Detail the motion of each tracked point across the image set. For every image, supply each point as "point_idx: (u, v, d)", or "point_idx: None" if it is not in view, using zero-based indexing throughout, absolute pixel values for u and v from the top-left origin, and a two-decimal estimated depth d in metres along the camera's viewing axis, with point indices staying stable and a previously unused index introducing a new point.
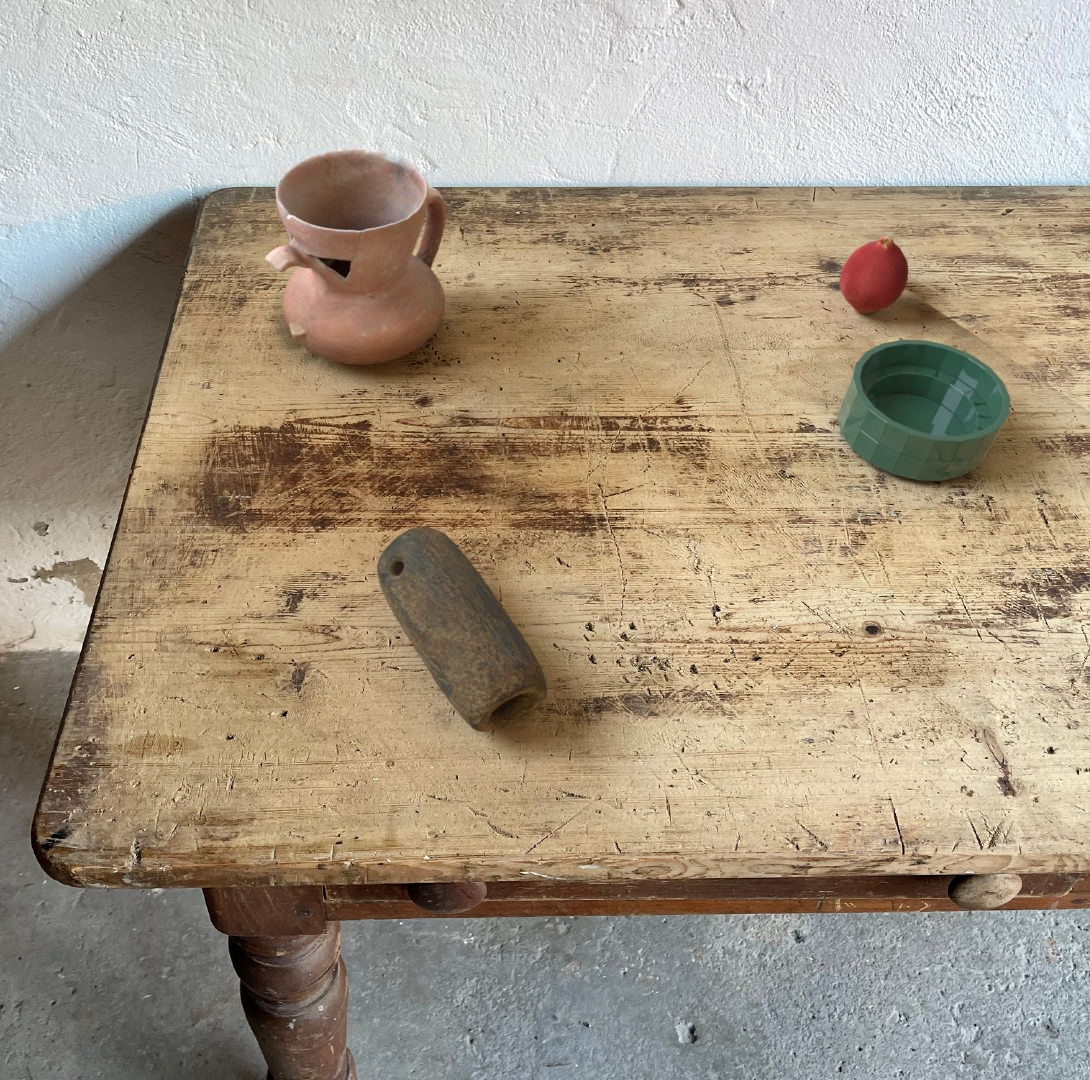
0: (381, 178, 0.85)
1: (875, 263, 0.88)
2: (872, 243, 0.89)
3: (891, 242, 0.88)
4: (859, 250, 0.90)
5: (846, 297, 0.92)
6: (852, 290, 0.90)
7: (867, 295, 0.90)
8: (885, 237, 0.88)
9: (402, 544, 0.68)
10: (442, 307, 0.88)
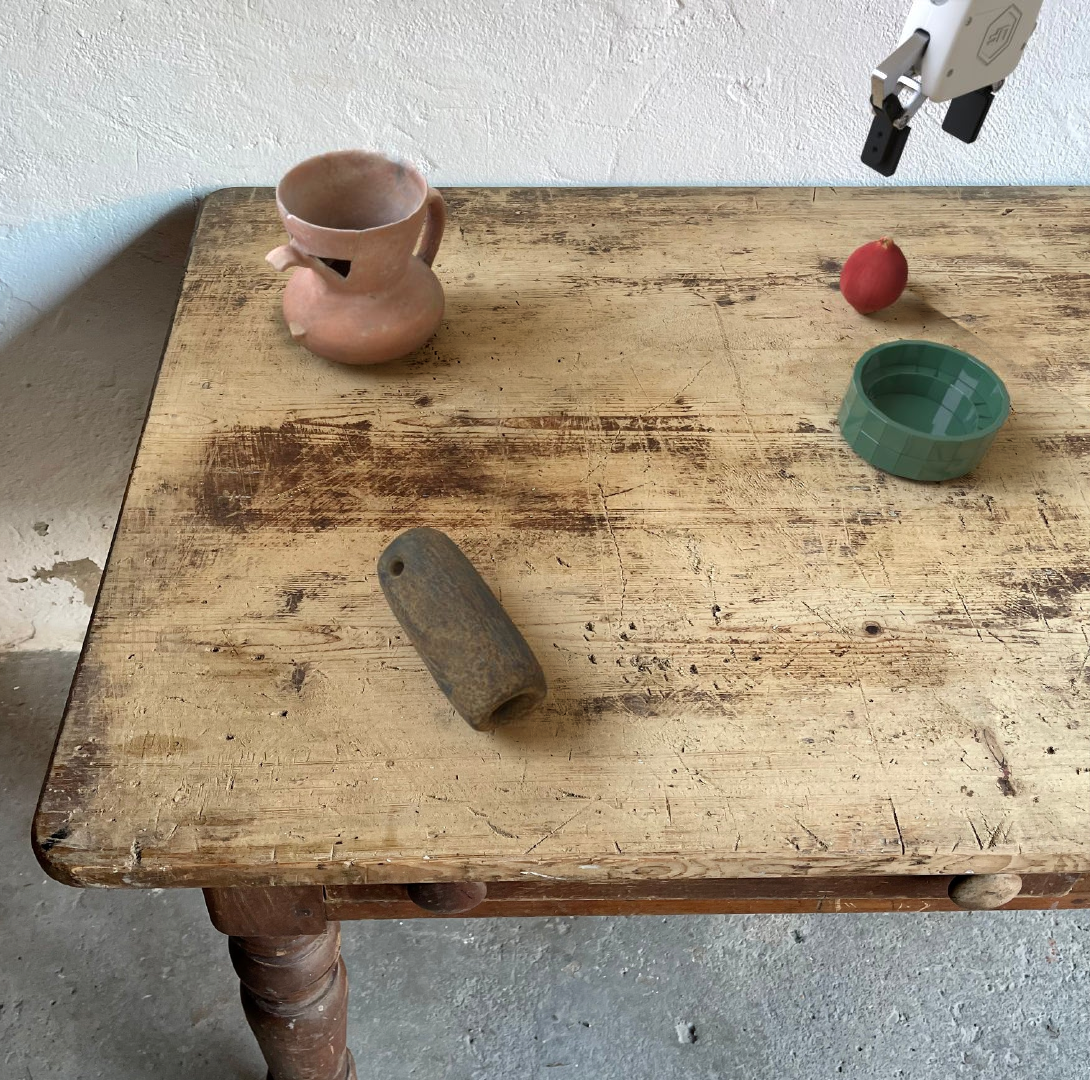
0: (381, 178, 0.85)
1: (875, 263, 0.88)
2: (872, 243, 0.89)
3: (891, 242, 0.88)
4: (859, 250, 0.90)
5: (846, 297, 0.92)
6: (852, 290, 0.90)
7: (867, 295, 0.90)
8: (885, 237, 0.88)
9: (402, 544, 0.68)
10: (442, 307, 0.88)
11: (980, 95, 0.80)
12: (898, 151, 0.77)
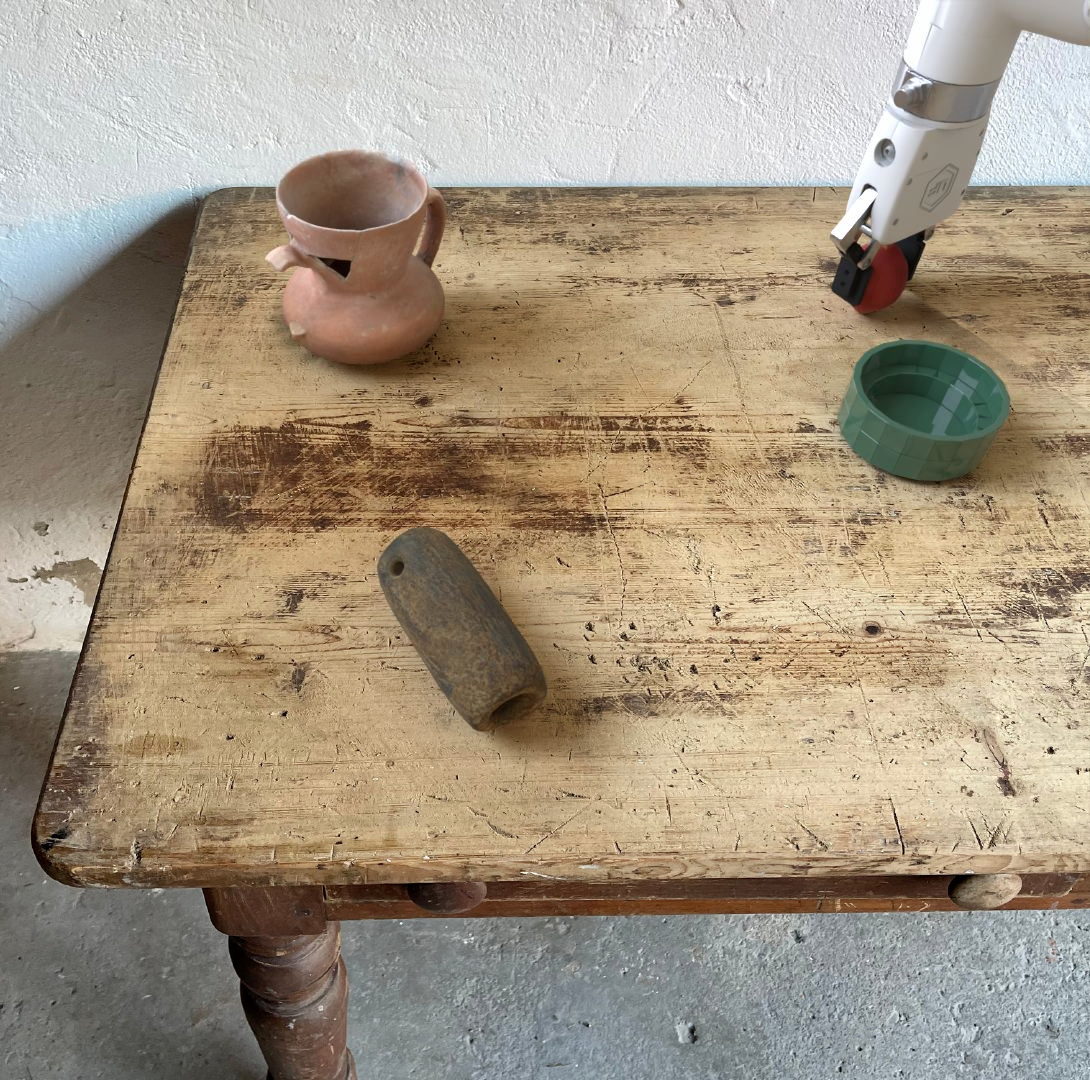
0: (381, 178, 0.85)
1: (875, 263, 0.88)
2: None
3: None
4: None
5: None
6: None
7: (867, 295, 0.90)
8: None
9: (402, 544, 0.68)
10: (442, 307, 0.88)
11: (913, 243, 0.90)
12: (863, 286, 0.88)
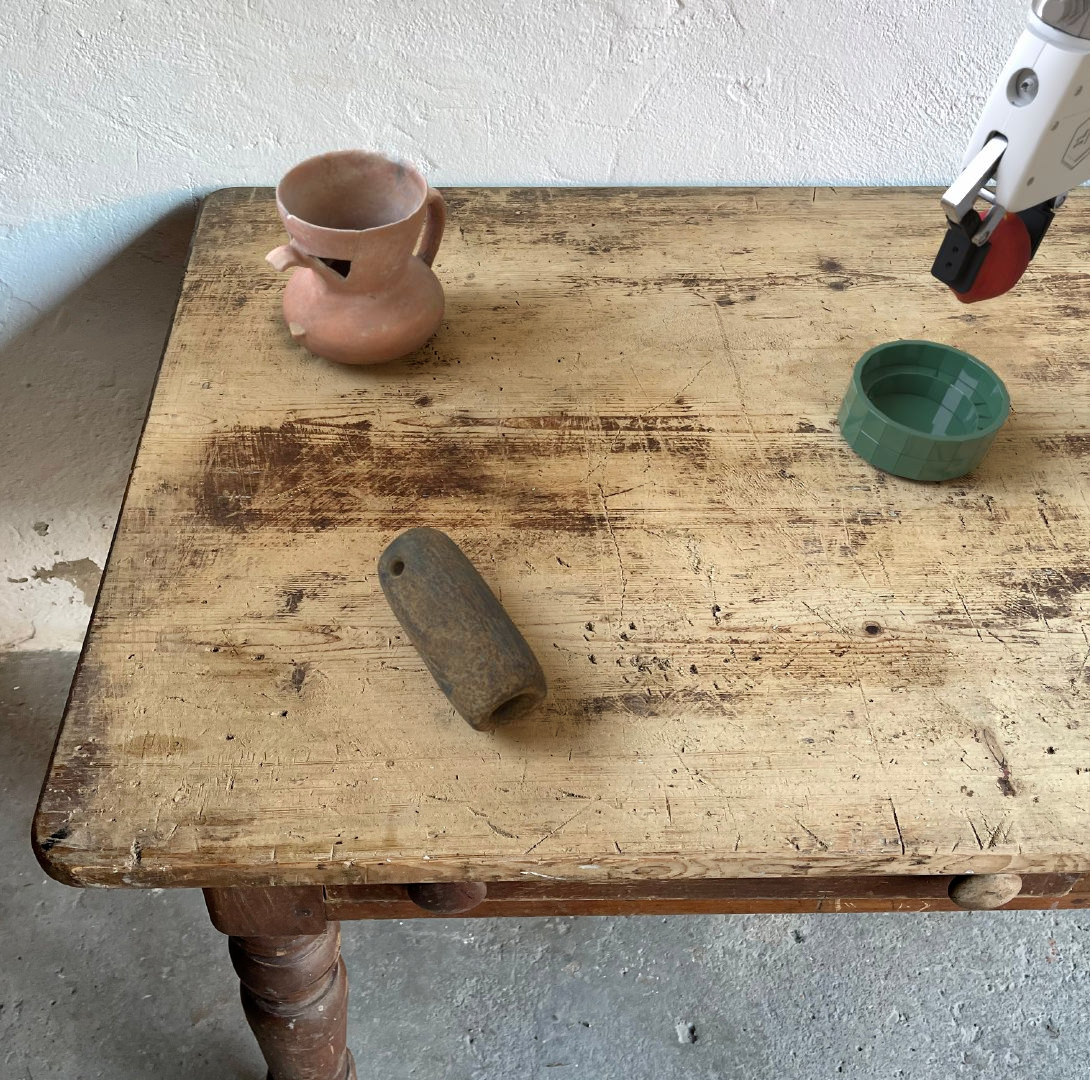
0: (381, 178, 0.85)
1: (991, 238, 0.69)
2: (986, 213, 0.70)
3: None
4: None
5: None
6: None
7: (979, 280, 0.70)
8: None
9: (402, 544, 0.68)
10: (442, 307, 0.88)
11: (1038, 213, 0.70)
12: (976, 268, 0.69)
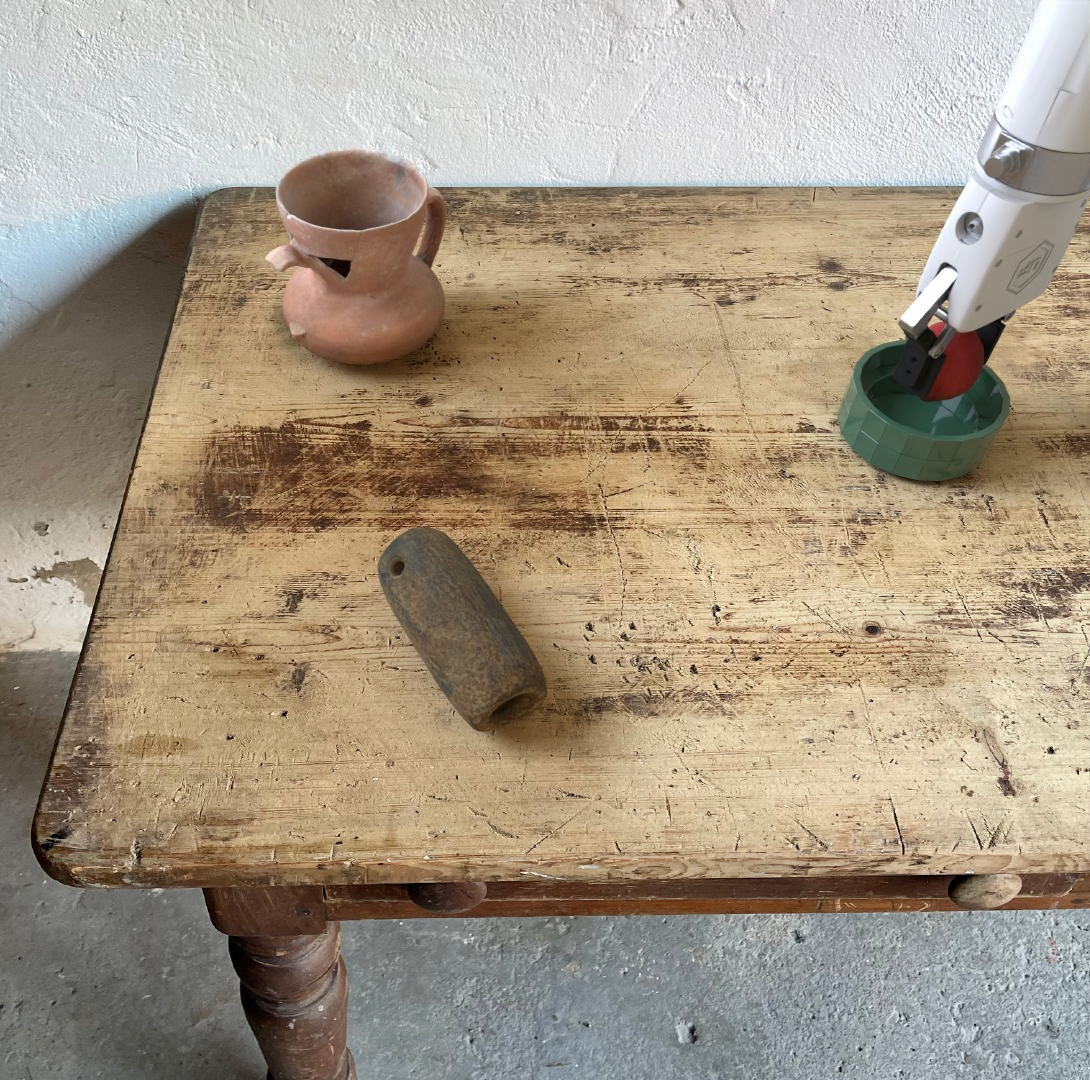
0: (381, 178, 0.85)
1: (946, 348, 0.75)
2: (942, 324, 0.76)
3: None
4: None
5: None
6: None
7: (936, 385, 0.77)
8: None
9: (403, 544, 0.68)
10: (442, 307, 0.88)
11: (990, 324, 0.76)
12: (933, 376, 0.75)
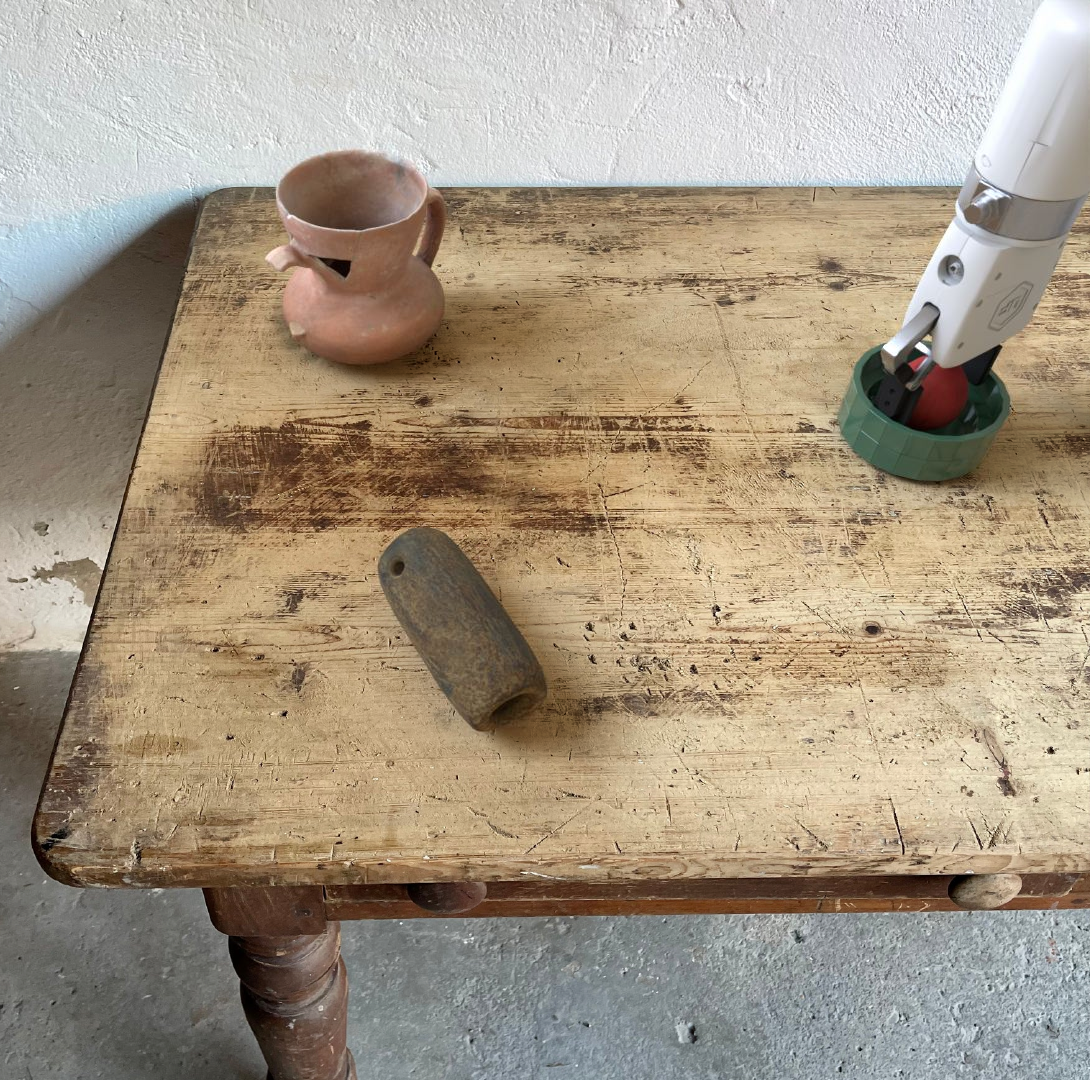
0: (381, 178, 0.85)
1: (932, 382, 0.78)
2: None
3: None
4: (913, 365, 0.79)
5: None
6: None
7: (922, 417, 0.79)
8: None
9: (403, 544, 0.68)
10: (442, 307, 0.88)
11: None
12: (911, 408, 0.77)
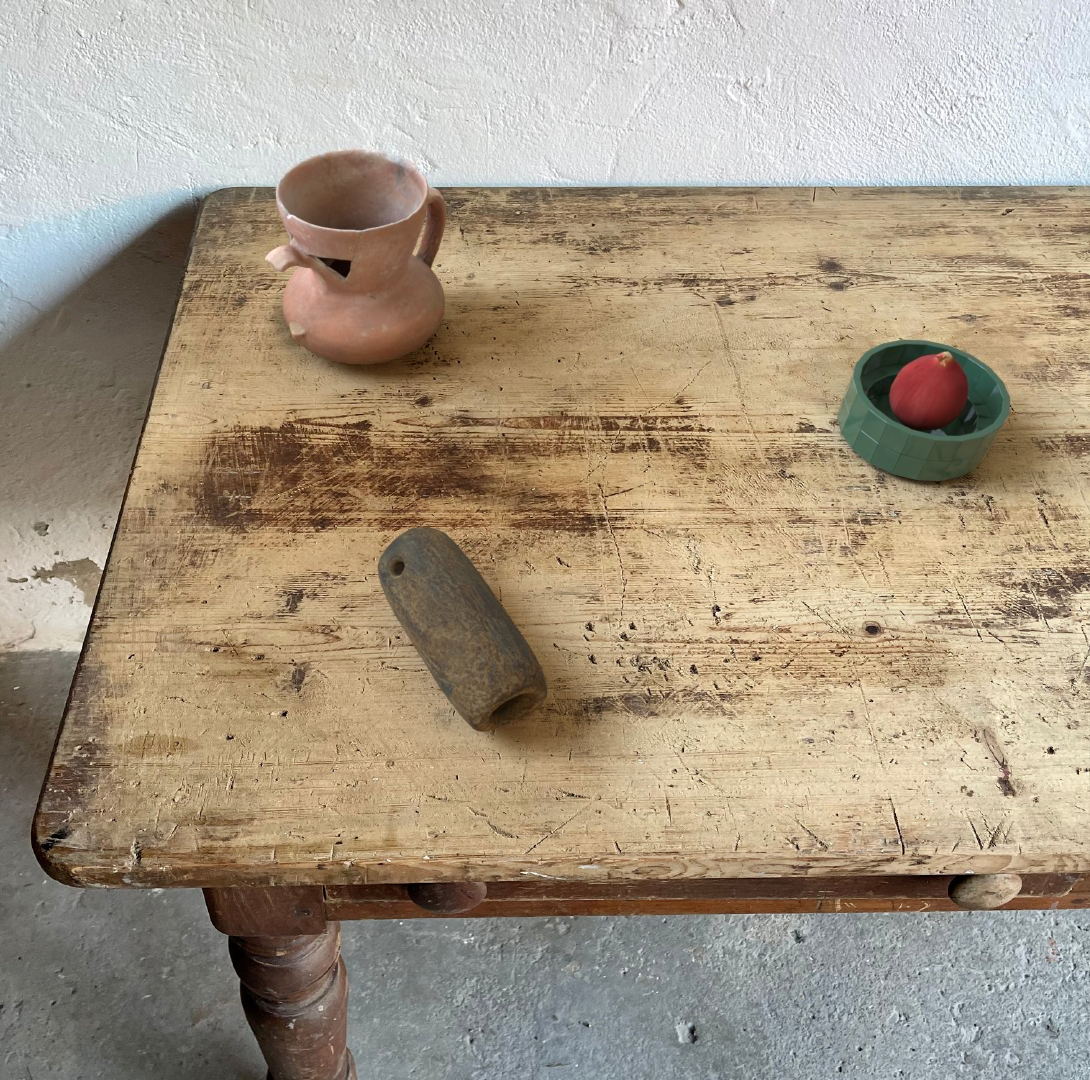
0: (381, 178, 0.85)
1: (932, 382, 0.78)
2: (928, 358, 0.79)
3: (950, 359, 0.77)
4: (913, 365, 0.79)
5: (897, 416, 0.81)
6: (905, 410, 0.80)
7: (922, 417, 0.79)
8: (944, 354, 0.77)
9: (403, 544, 0.68)
10: (442, 307, 0.88)
11: None
12: None
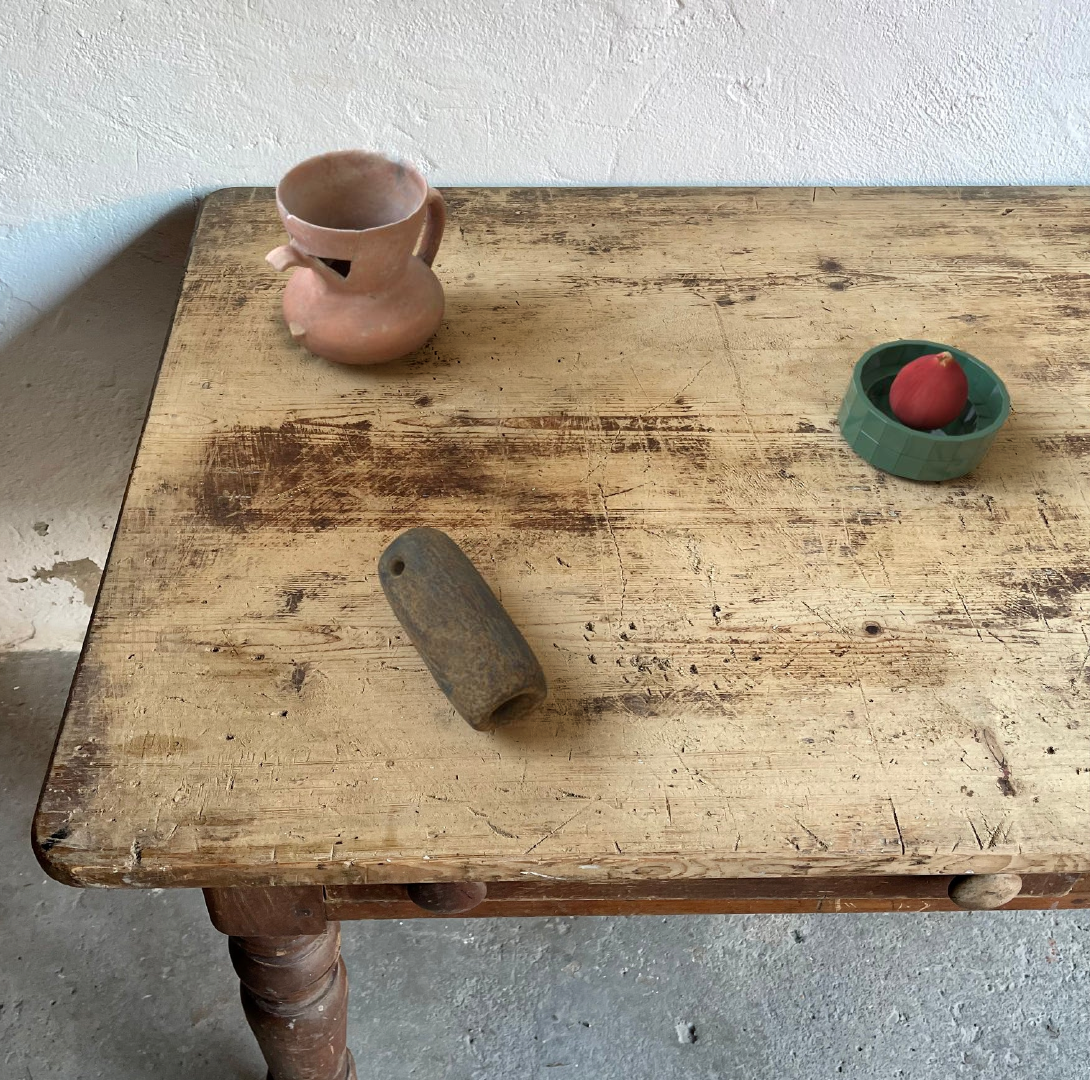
0: (381, 178, 0.85)
1: (932, 382, 0.78)
2: (928, 358, 0.79)
3: (950, 359, 0.77)
4: (913, 365, 0.79)
5: (897, 416, 0.81)
6: (905, 410, 0.80)
7: (922, 417, 0.79)
8: (944, 354, 0.77)
9: (403, 544, 0.68)
10: (442, 307, 0.88)
11: None
12: None
